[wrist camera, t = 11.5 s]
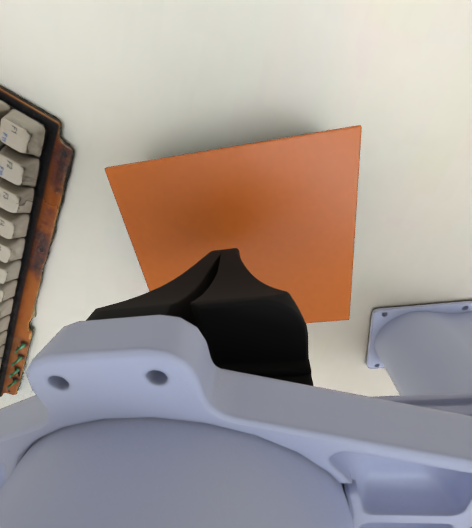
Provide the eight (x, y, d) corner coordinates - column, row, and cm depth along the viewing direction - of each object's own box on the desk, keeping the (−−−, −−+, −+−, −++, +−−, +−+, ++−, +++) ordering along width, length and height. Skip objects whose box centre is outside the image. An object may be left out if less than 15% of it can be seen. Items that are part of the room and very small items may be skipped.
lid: (109, 166, 14) (103, 168, 14) (357, 125, 13) (362, 125, 12) (167, 329, 20) (165, 334, 19) (346, 314, 18) (349, 320, 18)
